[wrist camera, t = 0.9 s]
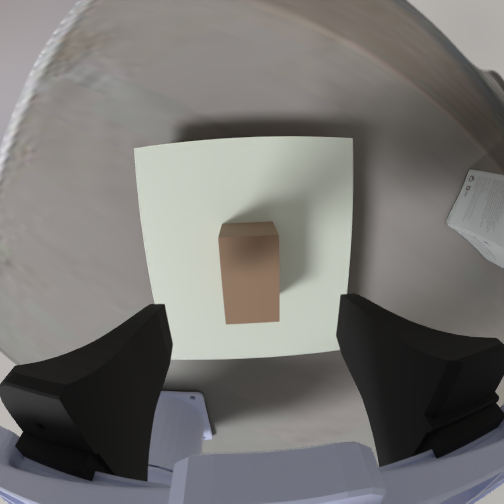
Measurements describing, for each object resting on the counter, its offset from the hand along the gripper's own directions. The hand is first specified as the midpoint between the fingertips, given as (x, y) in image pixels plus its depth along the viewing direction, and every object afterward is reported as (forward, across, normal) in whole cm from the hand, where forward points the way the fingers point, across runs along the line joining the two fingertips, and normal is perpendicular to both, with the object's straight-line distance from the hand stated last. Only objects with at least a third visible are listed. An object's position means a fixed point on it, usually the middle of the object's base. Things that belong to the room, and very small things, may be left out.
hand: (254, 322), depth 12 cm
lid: (+8, 0, 0) cm, 8 cm away
